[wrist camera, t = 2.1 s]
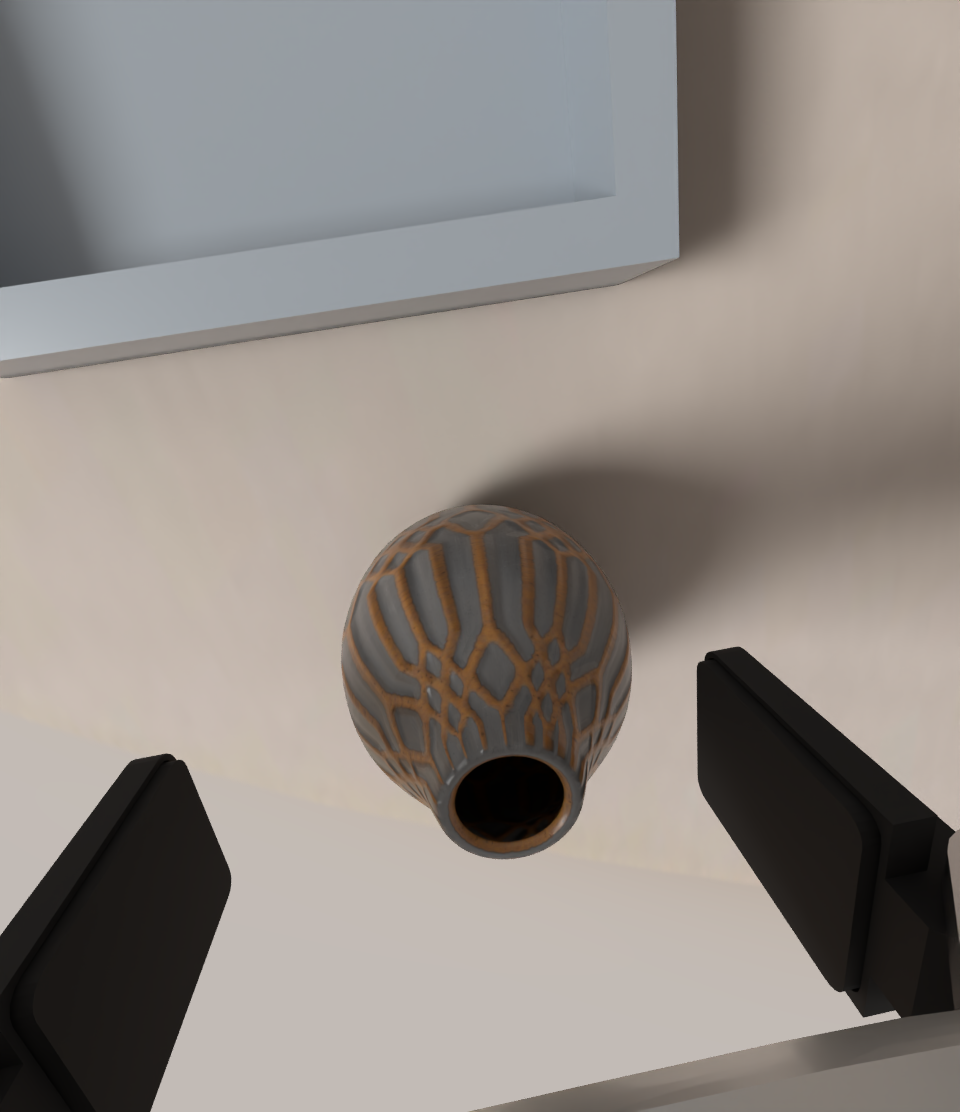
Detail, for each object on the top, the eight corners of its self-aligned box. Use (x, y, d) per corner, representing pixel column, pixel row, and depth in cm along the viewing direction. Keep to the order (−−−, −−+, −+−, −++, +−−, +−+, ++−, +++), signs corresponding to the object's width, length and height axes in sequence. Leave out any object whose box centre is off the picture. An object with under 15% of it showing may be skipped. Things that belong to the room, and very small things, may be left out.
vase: (622, 611, 17) (787, 831, 9) (449, 719, 18) (458, 1008, 10) (506, 433, 15) (587, 515, 7) (316, 566, 16) (189, 776, 8)
